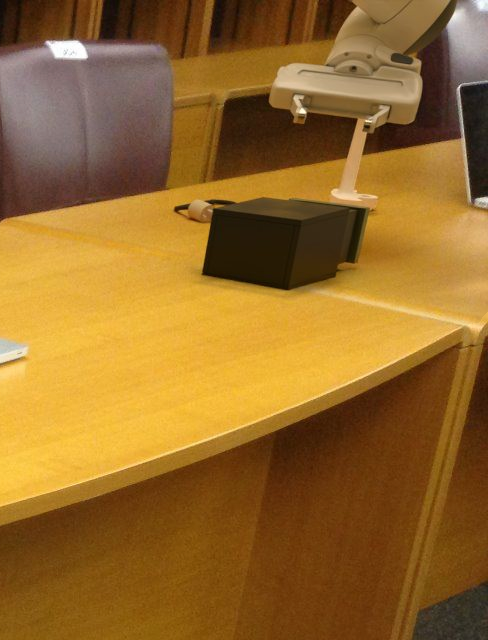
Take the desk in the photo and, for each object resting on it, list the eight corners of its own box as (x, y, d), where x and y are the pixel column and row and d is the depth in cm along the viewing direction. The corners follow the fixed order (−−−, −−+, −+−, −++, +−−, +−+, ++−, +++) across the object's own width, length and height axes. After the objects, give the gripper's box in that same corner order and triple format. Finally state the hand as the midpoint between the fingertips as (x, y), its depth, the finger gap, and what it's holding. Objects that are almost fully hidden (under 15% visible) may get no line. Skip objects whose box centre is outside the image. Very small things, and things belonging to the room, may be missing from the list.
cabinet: (250, 264, 225) (263, 196, 221) (335, 277, 217) (350, 207, 212) (200, 278, 216) (213, 208, 212) (287, 292, 208) (301, 220, 204)
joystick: (326, 200, 274) (355, 82, 265) (371, 204, 272) (402, 85, 262) (330, 211, 265) (360, 89, 255) (377, 215, 262) (410, 92, 253)
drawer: (295, 247, 232) (305, 194, 228) (370, 258, 224) (383, 203, 221) (237, 263, 221) (248, 208, 218) (315, 275, 213) (327, 218, 210)
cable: (147, 206, 265) (151, 186, 264) (229, 205, 269) (233, 185, 267) (200, 225, 252) (204, 203, 250) (285, 223, 256) (290, 202, 254)
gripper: (285, 44, 230) (262, 94, 223) (433, 61, 222) (414, 113, 215) (277, 83, 235) (254, 132, 228) (422, 101, 226) (403, 153, 220)
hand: (333, 123), depth 221 cm, fingers open, 8 cm apart
